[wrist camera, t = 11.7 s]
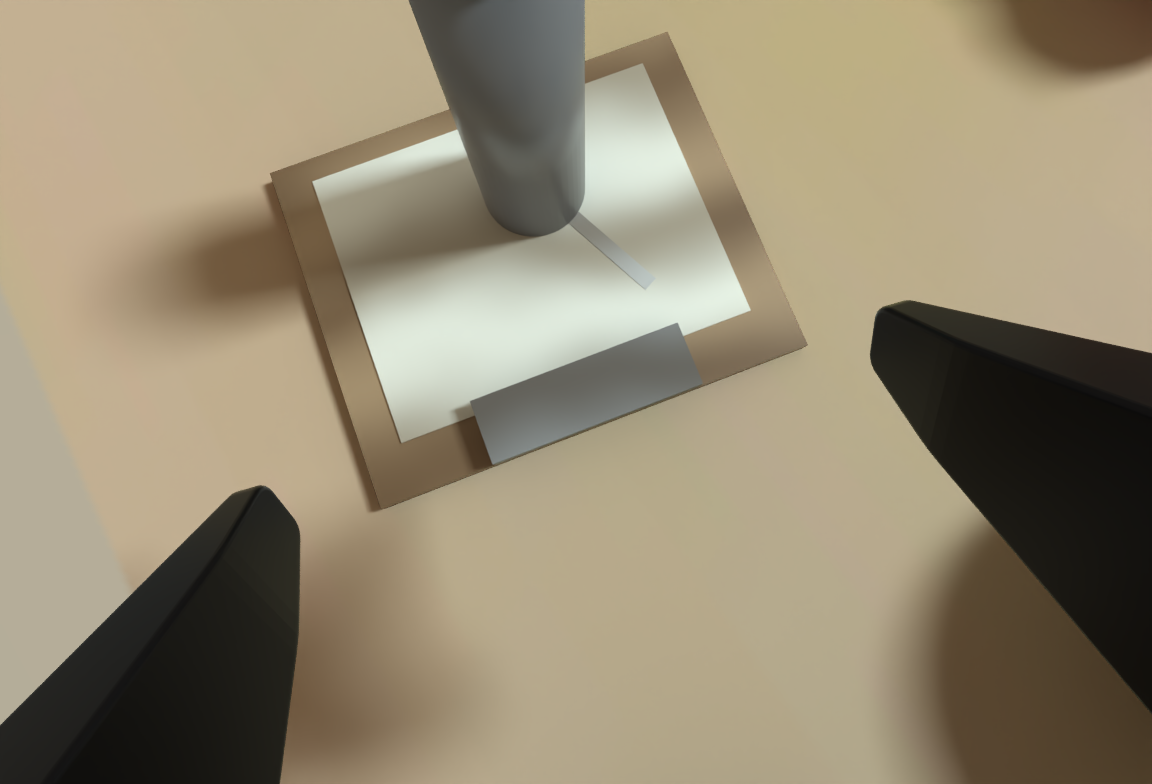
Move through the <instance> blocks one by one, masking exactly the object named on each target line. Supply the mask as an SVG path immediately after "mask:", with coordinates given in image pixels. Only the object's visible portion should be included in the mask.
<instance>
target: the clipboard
mask: <svg viewBox="0 0 1152 784" xmlns="http://www.w3.org/2000/svg"><path fill="white" fill-rule="evenodd" d="M270 175H271V178H272V181H273V184H274V187H275V190H276V193H277V196H278V199H279V202H280V206H281V209H282V212H283V215H284V218H285V221H286V224H287V227H288V230H289V233H290V236H291V239H292V242H293V245H294V248H295V251H296V254H297V257H298V260H299V263H300V266H301V269H302V272H303V275H304V278H305V281H306V284H307V287H308V290H309V293H310V296H311V299H312V302H313V305H314V308H315V311H316V314H317V317H318V320H319V323H320V326H321V329H322V332H323V336H324V339H325V342H326V345H327V348H328V351H329V354H330V357H331V360H332V363H333V366H334V369H335V372H336V375H337V378H338V381H339V384H340V387H341V390H342V393H343V396H344V399H345V402H346V405H347V408H348V411H349V414H350V417H351V420H352V423H353V426H354V429H355V432H356V435H357V438H358V441H359V444H360V447H361V450H362V453H363V456H364V459H365V462H366V466H367V469H368V472H369V475H370V478H371V481H372V484H373V487H374V490H375V493H376V496H377V499H378V502H379V505H380V508H381V509H384V508H388V507H391V506H393V505H396V504H398V503H401V502H404V501H406V500H409V499H411V498H414V497H417V496H419V495H422V494H424V493H427V492H430V491H432V490H435V489H437V488H440V487H443V486H445V485H448V484H450V483H453V482H456V481H458V480H461V479H463V478H466V477H469V476H471V475H474V474H476V473H479V472H482V471H484V470H487V469H489V468H492V467H495V466H497V465H500V464H502V463H505V462H508V461H510V460H513V459H515V458H518V457H521V456H523V455H526V454H528V453H531V452H534V451H536V450H539V449H541V448H544V447H547V446H549V445H552V444H554V443H557V442H560V441H562V440H565V439H567V438H570V437H573V436H575V435H578V434H580V433H583V432H586V431H588V430H591V429H593V428H596V427H599V426H601V425H604V424H606V423H609V422H612V421H614V420H617V419H619V418H622V417H625V416H627V415H630V414H632V413H635V412H638V411H640V410H643V409H645V408H648V407H651V406H653V405H656V404H658V403H661V402H664V401H666V400H669V399H672V398H674V397H677V396H679V395H682V394H685V393H687V392H690V391H692V390H695V389H698V388H700V387H703V386H705V385H708V384H711V383H713V382H716V381H718V380H721V379H724V378H726V377H729V376H731V375H734V374H737V373H739V372H742V371H744V370H747V369H750V368H752V367H755V366H757V365H760V364H763V363H765V362H768V361H770V360H773V359H776V358H778V357H781V356H783V355H786V354H789V353H791V352H794V351H796V350H799V349H802V348H803V347H805V346H807V342H806V340H805V338H804V336H803V333H802V331H801V329H800V327H799V324H798V322H797V320H796V318H795V316H794V313H793V311H792V309H791V307H790V304H789V302H788V300H787V298H786V295H785V293H784V291H783V289H782V287H781V284H780V282H779V280H778V278H777V275H776V273H775V271H774V269H773V266H772V264H771V262H770V260H769V258H768V255H767V253H766V251H765V249H764V246H763V244H762V242H761V240H760V237H759V235H758V233H757V231H756V228H755V226H754V224H753V222H752V220H751V217H750V215H749V213H748V211H747V208H746V206H745V204H744V202H743V199H742V197H741V195H740V193H739V191H738V188H737V186H736V184H735V182H734V179H733V177H732V175H731V173H730V170H729V168H728V166H727V164H726V162H725V159H724V157H723V155H722V153H721V150H720V148H719V146H718V144H717V141H716V139H715V137H714V135H713V133H712V130H711V128H710V126H709V124H708V121H707V119H706V117H705V115H704V112H703V110H702V108H701V106H700V104H699V101H698V99H697V97H696V95H695V92H694V90H693V88H692V86H691V83H690V81H689V79H688V77H687V75H686V72H685V70H684V68H683V66H682V63H681V61H680V59H679V57H678V54H677V52H676V50H675V48H674V45H673V43H672V41H671V39H670V37H669V34H668V32H665V33H663V34H660V35H657V36H654V37H651V38H649V39H646V40H643V41H640V42H637V43H635V44H632V45H629V46H626V47H623V48H621V49H618V50H615V51H612V52H609V53H607V54H604V55H601V56H598V57H595V58H592V59H590V60H587V61H585V195H584V200H583V203H582V206H581V208H580V210H579V211H578V213H577V214H576V216H575V217H574V218H573V219H572V220H571V222H569V223H568V224H567V225H566V226H565V227H563V228H562V229H560V230H558V231H556V232H554V233H551V234H548V235H544V236H535V237H532V236H523V235H519V234H515V233H513V232H511V231H508V230H507V229H505V228H504V227H502V226H501V225H500V224H499V223H497V221H496V220H495V219H494V218H493V217H492V215H491V214H490V212H489V211H488V209H487V206H486V204H485V201H484V198H483V196H482V193H481V191H480V188H479V185H478V183H477V180H476V177H475V175H474V172H473V169H472V167H471V164H470V161H469V159H468V156H467V153H466V151H465V148H464V146H463V143H462V140H461V138H460V135H459V132H458V130H457V127H456V124H455V122H454V119H453V116H452V114H451V111H450V109H449V110H446V111H444V112H441V113H438V114H435V115H432V116H430V117H427V118H424V119H421V120H418V121H416V122H413V123H410V124H407V125H404V126H402V127H399V128H396V129H393V130H390V131H387V132H385V133H382V134H379V135H376V136H373V137H371V138H368V139H365V140H362V141H359V142H357V143H354V144H351V145H348V146H345V147H343V148H340V149H337V150H334V151H331V152H329V153H326V154H323V155H320V156H317V157H314V158H312V159H309V160H306V161H303V162H300V163H298V164H295V165H292V166H289V167H286V168H284V169H281V170H278V171H275V172H272V173H270Z"/></svg>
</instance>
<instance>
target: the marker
mask: <svg viewBox="0 0 1152 784" xmlns="http://www.w3.org/2000/svg"><path fill="white" fill-rule="evenodd" d="M409 3H410V5H411V8H412V11H413V13H414V16H415V18H416V21H417V24H418V26H419V29H420V32H421V34H422V37H423V40H424V42H425V45H426V48H427V50H428V53H429V56H430V58H431V61H432V63H433V66H434V69H435V71H436V74H437V77H438V79H439V82H440V85H441V87H442V90H443V93H444V95H445V98H446V101H447V103H448V106H449V108H450V111H451V114H452V116H453V119H454V122H455V124H456V127H457V130H458V132H459V135H460V138H461V140H462V143H463V146H464V148H465V151H466V153H467V156H468V159H469V161H470V164H471V167H472V169H473V172H474V175H475V177H476V180H477V183H478V185H479V188H480V191H481V193H482V196H483V198H484V201H485V204H486V206H487V209H488V211H489V212H490V214H491V215H492V217H493V218H494V219H495V220H496V221H497V223H499V224H500V225H501V226H502V227H504V228H505V229H507V230H508V231H511V232H513V233H515V234H519V235H523V236H532V237H535V236H544V235H548V234H551V233H554V232H556V231H558V230H560V229H562V228H563V227H565V226H566V225H567V224H568V223H569V222H571V220H572V219H573V218H574V217H575V216H576V214H577V213H578V211H579V210H580V208H581V206H582V203H583V200H584V195H585V0H409Z"/></svg>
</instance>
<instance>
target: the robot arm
mask: <svg viewBox="0 0 1152 784" xmlns="http://www.w3.org/2000/svg"><path fill="white" fill-rule="evenodd" d="M870 359H871V364H872V366H873V369H874V371H875V372H876V374H877V375H878V377H879V378H880V380H881V381H882V383H883V384H884V386H885V387H886V389H887V390H888V392H889V393H890V395H891V396H892V398H893V399H894V401H895V402H896V404H897V405H898V407H899V408H900V409H901V411H902V412H903V414H904V415H905V417H906V418H907V420H908V421H909V423H910V424H911V426H912V427H913V429H914V430H915V432H916V433H917V435H918V436H919V438H920V439H921V440H922V442H923V443H924V445H925V446H926V447H927V449H928V450H929V451H930V453H931V454H932V455H933V456H934V458H935V459H936V460H937V461H938V463H939V464H940V465H941V466H942V467H943V468H944V470H945V471H946V472H947V473H948V474H949V476H950V477H951V478H952V479H953V480H954V481H955V483H956V484H957V485H958V486H959V487H960V488H961V490H962V491H963V492H964V493H965V494H966V496H967V497H968V498H969V499H970V500H971V501H972V503H973V504H974V505H975V506H976V507H977V509H978V510H979V511H980V512H981V513H982V514H983V516H984V517H985V518H986V519H987V520H988V522H989V523H990V524H991V525H992V526H993V527H994V529H995V530H996V531H997V532H998V533H999V534H1000V536H1001V537H1002V538H1003V539H1004V540H1005V542H1006V543H1007V544H1008V545H1009V546H1010V547H1011V549H1012V550H1013V551H1014V552H1015V553H1016V555H1017V556H1018V557H1019V558H1020V559H1021V560H1022V562H1023V563H1024V564H1025V565H1026V566H1027V568H1028V569H1029V570H1030V571H1031V572H1032V573H1033V575H1034V576H1035V577H1036V578H1037V579H1038V580H1039V582H1040V583H1041V584H1042V585H1043V586H1044V588H1045V589H1046V590H1047V591H1048V592H1049V593H1050V595H1051V596H1052V597H1053V598H1054V599H1055V601H1056V602H1057V603H1058V604H1059V605H1060V606H1061V608H1062V609H1063V610H1064V611H1065V612H1066V614H1067V615H1068V616H1069V617H1070V618H1071V619H1072V621H1073V622H1074V623H1075V624H1076V625H1077V626H1078V628H1079V629H1080V630H1081V631H1082V632H1083V634H1084V635H1085V636H1086V637H1087V638H1088V639H1089V641H1090V642H1091V643H1092V644H1093V645H1094V647H1095V648H1096V649H1097V650H1098V651H1099V652H1100V654H1101V655H1102V656H1103V657H1104V658H1105V660H1106V661H1107V662H1108V663H1109V664H1110V665H1111V667H1112V668H1113V669H1114V670H1115V671H1116V672H1117V674H1118V675H1119V676H1120V677H1121V678H1122V680H1123V681H1124V682H1125V683H1126V684H1127V685H1128V687H1129V688H1130V689H1131V690H1132V691H1133V693H1134V694H1135V695H1136V696H1137V697H1138V698H1139V700H1140V701H1141V702H1142V703H1143V704H1144V706H1145V707H1146V708H1147V709H1148V710H1149V711H1150V713H1151V714H1152V353H1148V352H1144V351H1139V350H1135V349H1130V348H1126V347H1121V346H1117V345H1112V344H1107V343H1103V342H1098V341H1094V340H1089V339H1085V338H1080V337H1076V336H1071V335H1066V334H1062V333H1057V332H1053V331H1048V330H1044V329H1039V328H1035V327H1030V326H1025V325H1021V324H1016V323H1012V322H1007V321H1003V320H998V319H994V318H989V317H984V316H980V315H975V314H971V313H966V312H962V311H957V310H953V309H948V308H943V307H939V306H934V305H930V304H925V303H921V302H916V301H911V300H906V301H902V302H898V303H895V304H891V305H888V306H884V307H882V308H881V309H879V310H878V312H877V314H876V316H875V322H874V329H873V336H872V343H871V351H870ZM299 602H300V531H299V528H298V525H297V523H296V521H295V519H294V518H293V517H292V515H291V514H290V513H289V512H288V510H287V509H286V508H285V507H284V505H283V504H282V503H281V502H280V500H279V499H278V498H277V497H276V495H275V494H274V493H273V492H272V491H271V489H269V488H268V487H266V486H261V485H260V486H255V487H252V488H248V489H245V490H241V491H238V492H235V493H233V494H232V495H231V496H229V497H228V498H227V499H226V500H225V501H224V502H223V503H222V504H221V505H220V506H219V507H218V508H217V509H216V510H215V511H214V512H213V513H212V514H211V515H210V516H209V517H208V518H207V519H206V520H205V521H204V522H203V523H202V524H201V525H200V526H199V527H198V528H197V529H196V530H195V531H194V532H193V533H192V534H191V535H190V536H189V537H188V538H187V539H186V540H185V541H184V542H183V543H182V544H181V545H180V546H179V547H178V548H177V549H176V550H175V551H174V552H173V553H172V554H171V555H170V556H169V557H168V558H167V559H166V560H165V561H164V562H163V563H162V564H161V565H160V566H159V567H158V568H157V569H156V570H155V571H154V572H153V573H152V574H151V575H150V576H149V577H148V578H147V579H146V580H145V581H144V582H143V583H142V584H141V585H140V586H139V587H138V588H137V589H136V590H135V591H134V592H133V593H132V594H131V595H130V596H129V597H128V598H127V599H126V600H125V601H124V602H123V603H122V604H121V605H120V606H119V607H118V608H117V609H116V610H115V611H114V612H113V613H112V614H111V615H110V616H109V617H108V618H107V619H106V620H105V621H104V622H103V623H102V624H101V625H100V626H99V627H98V628H97V629H96V630H95V631H94V632H93V633H92V634H91V635H90V636H89V637H88V638H87V639H86V640H85V641H84V642H83V643H82V644H81V645H80V646H79V647H78V648H77V649H76V650H75V651H74V652H73V653H72V654H71V655H70V656H69V657H68V658H67V659H66V660H65V661H64V662H63V663H62V664H61V665H60V666H59V667H58V668H57V669H56V670H55V671H54V672H53V673H52V674H51V675H50V676H49V677H48V678H47V679H46V680H45V681H44V682H43V683H42V684H41V685H40V686H39V687H38V688H37V689H36V690H35V691H34V692H33V693H32V694H31V695H30V696H29V697H28V698H27V699H26V700H25V701H24V702H23V703H22V704H21V705H20V706H19V707H18V708H17V709H16V710H15V711H14V712H13V713H12V714H11V715H10V716H9V717H8V718H7V719H6V720H5V721H4V722H3V723H2V724H1V725H0V784H280V778H281V770H282V762H283V755H284V747H285V739H286V731H287V724H288V716H289V708H290V700H291V693H292V685H293V677H294V670H295V662H296V654H297V645H298V635H299Z"/></svg>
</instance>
